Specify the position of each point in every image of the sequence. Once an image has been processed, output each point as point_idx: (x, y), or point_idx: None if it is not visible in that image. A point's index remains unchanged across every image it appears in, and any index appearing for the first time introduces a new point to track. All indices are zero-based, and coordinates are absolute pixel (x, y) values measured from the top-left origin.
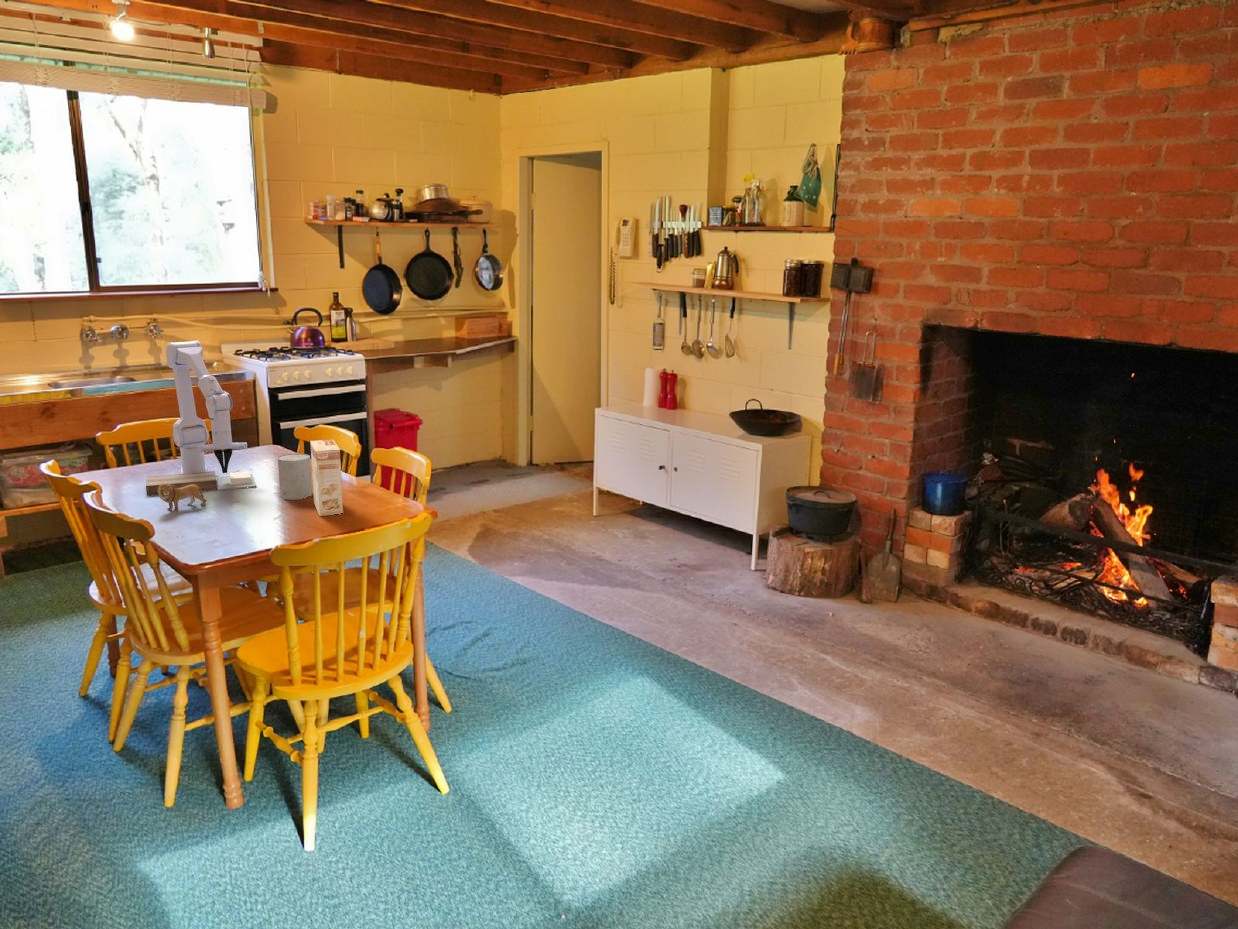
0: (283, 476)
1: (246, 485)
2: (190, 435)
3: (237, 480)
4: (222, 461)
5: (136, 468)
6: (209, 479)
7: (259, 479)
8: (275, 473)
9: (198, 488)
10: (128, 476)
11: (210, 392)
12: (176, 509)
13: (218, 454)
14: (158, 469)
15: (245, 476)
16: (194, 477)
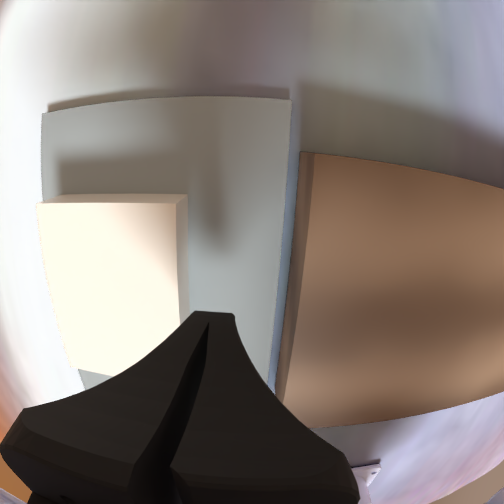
0: None
1: (89, 137)
2: None
3: (129, 198)
4: (215, 384)
5: (429, 497)
6: (369, 205)
7: (42, 300)
8: (12, 365)
9: None
10: (482, 449)
11: None
12: None
13: (286, 475)
14: (399, 497)
15: (66, 241)
16: (439, 317)
